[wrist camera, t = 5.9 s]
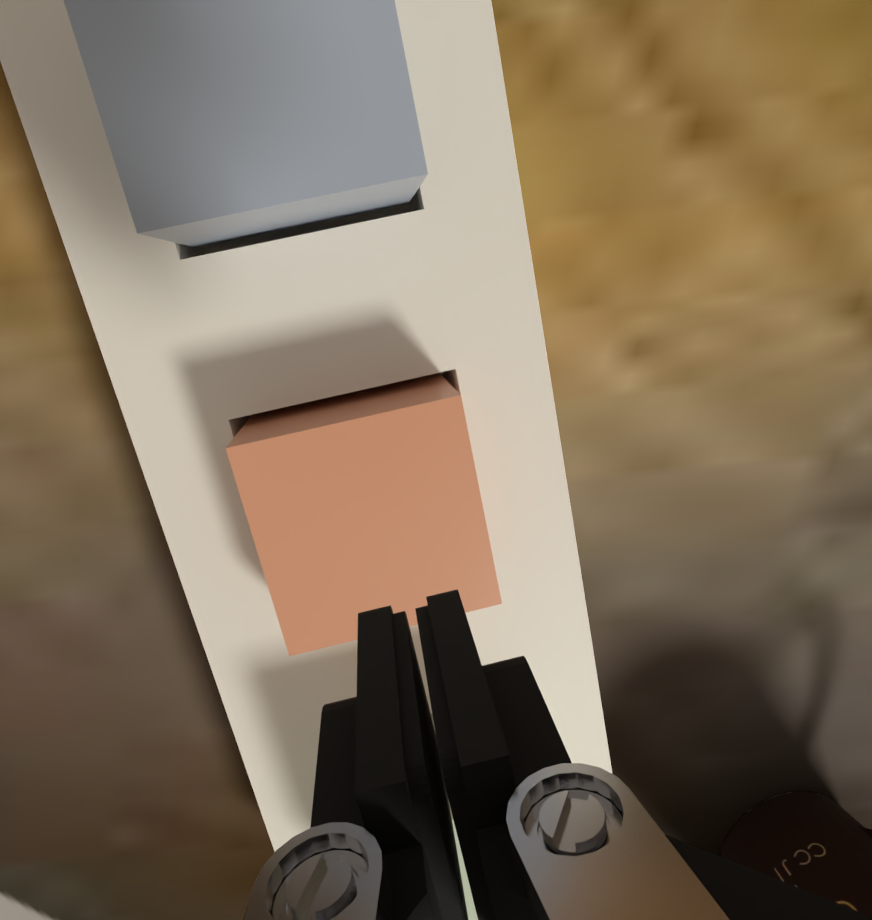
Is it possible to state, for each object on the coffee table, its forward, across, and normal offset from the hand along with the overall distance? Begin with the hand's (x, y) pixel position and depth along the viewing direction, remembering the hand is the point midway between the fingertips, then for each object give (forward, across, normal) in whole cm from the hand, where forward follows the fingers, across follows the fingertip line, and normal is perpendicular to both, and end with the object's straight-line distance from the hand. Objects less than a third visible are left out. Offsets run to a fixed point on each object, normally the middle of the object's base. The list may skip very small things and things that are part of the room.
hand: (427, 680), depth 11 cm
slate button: (+10, +1, -11) cm, 15 cm away
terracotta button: (+12, +1, 0) cm, 12 cm away
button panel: (+13, +1, 0) cm, 13 cm away
